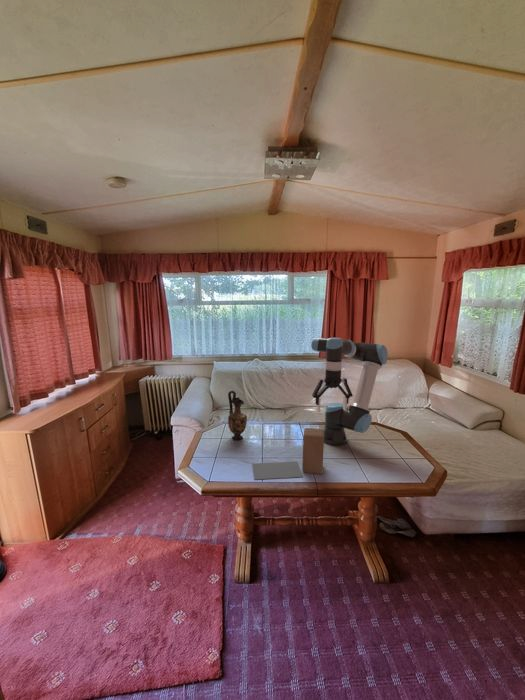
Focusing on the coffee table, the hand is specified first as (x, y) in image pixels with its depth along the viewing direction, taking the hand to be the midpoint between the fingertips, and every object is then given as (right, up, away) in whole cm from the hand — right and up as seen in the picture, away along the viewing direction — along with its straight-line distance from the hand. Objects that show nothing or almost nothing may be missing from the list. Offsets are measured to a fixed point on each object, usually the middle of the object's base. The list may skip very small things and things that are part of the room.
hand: (331, 410), depth 146 cm
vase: (-51, -25, +36) cm, 67 cm away
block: (-9, -31, +3) cm, 32 cm away
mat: (-28, -31, +1) cm, 41 cm away
